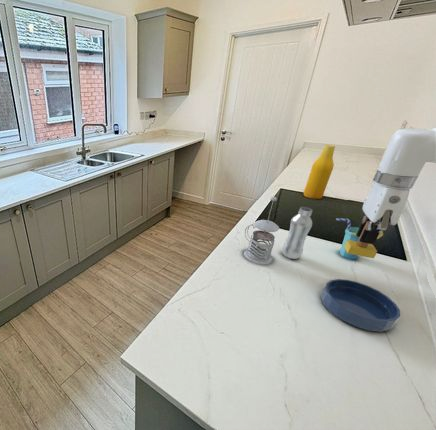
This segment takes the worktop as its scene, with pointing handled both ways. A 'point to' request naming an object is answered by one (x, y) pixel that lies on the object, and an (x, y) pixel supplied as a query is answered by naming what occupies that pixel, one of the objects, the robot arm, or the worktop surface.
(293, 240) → the silver metal bottle
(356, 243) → the rubber stamp
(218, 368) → the worktop surface
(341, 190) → the worktop surface
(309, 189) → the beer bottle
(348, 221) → the cup
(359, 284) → the bowl
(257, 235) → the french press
